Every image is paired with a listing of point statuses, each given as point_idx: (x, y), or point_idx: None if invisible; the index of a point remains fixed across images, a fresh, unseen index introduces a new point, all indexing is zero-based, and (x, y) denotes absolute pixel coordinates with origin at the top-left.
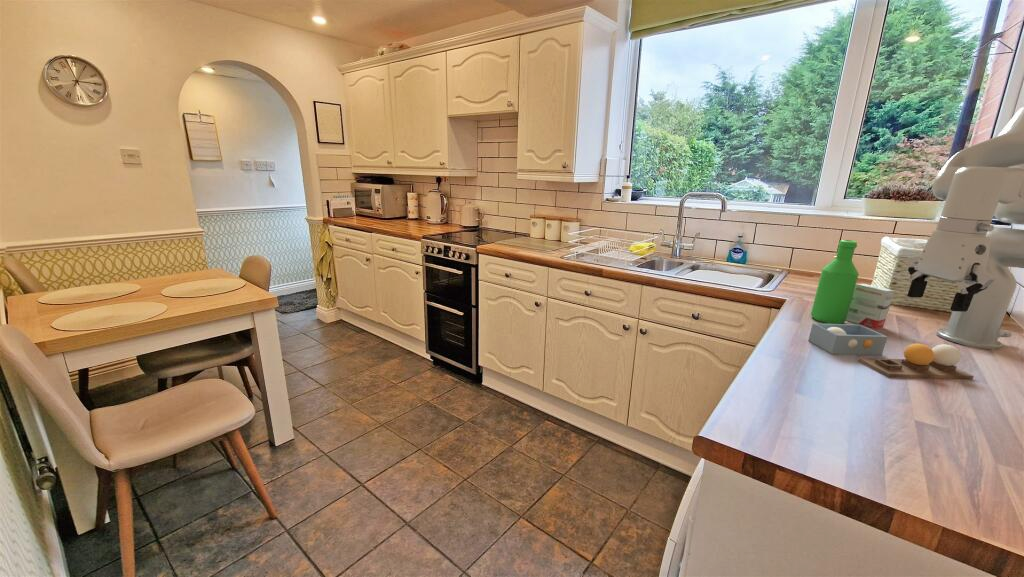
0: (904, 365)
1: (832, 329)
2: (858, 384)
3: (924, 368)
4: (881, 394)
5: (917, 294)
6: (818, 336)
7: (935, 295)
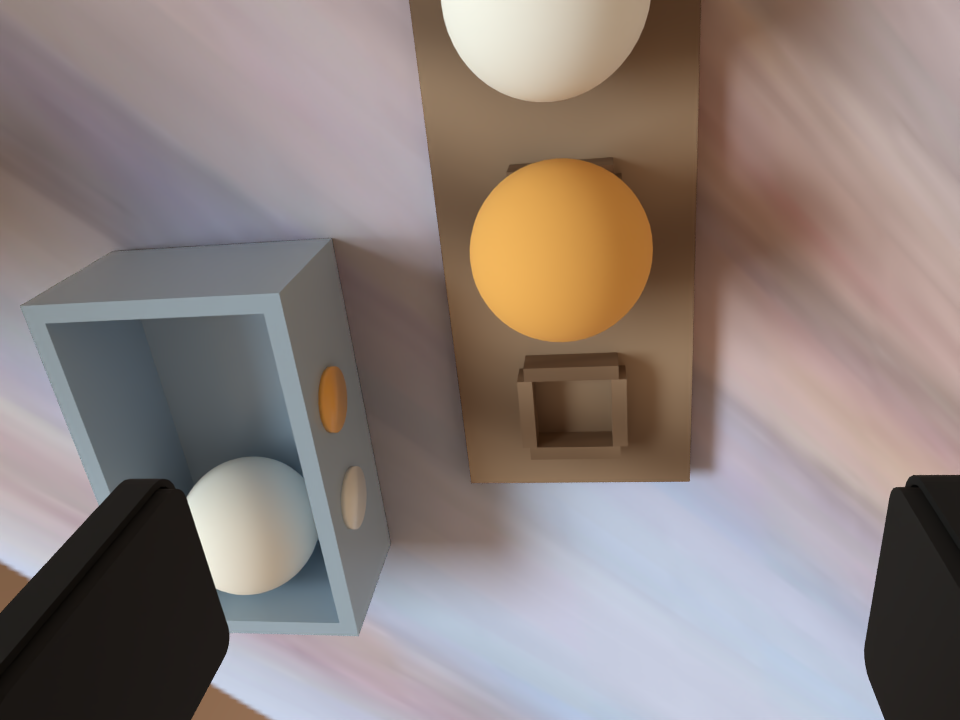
0: None
1: (244, 593)
2: (769, 662)
3: None
4: None
5: (185, 595)
6: None
7: None
